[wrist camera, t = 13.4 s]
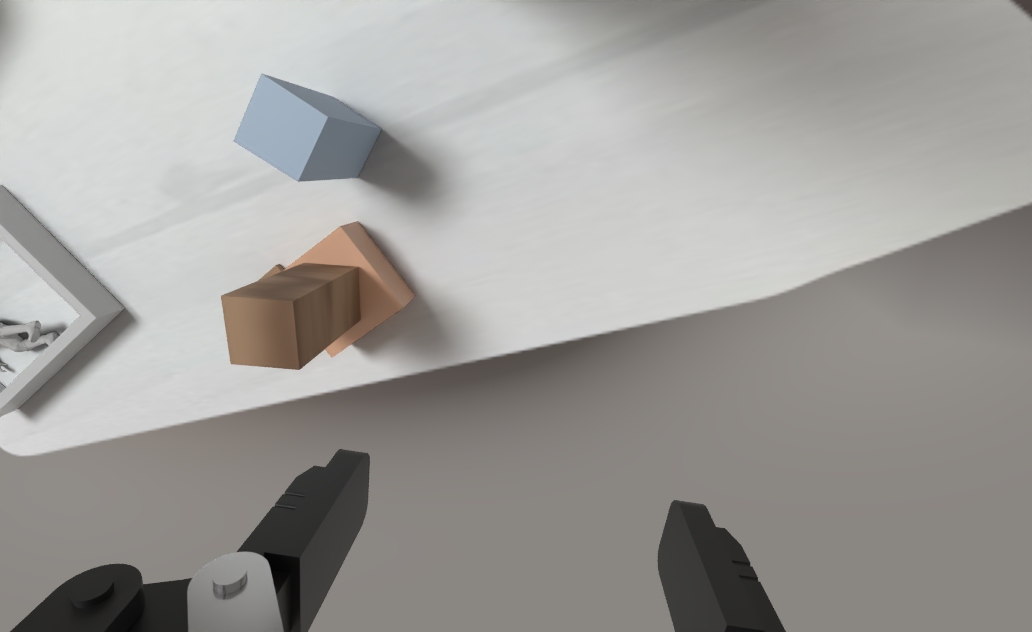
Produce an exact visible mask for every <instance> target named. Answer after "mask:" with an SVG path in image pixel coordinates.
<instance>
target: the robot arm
mask: <svg viewBox="0 0 1032 632" xmlns="http://www.w3.org/2000/svg"><path fill="white" fill-rule="evenodd" d="M369 466H370V457H369V454H368V453H362V452H355V451H349V450H343V449H340V450H338V451H337V452H336V454H335V455H334V456H333V458H332V459H331V461H330V462H329V463H328V465H327V466H326V467H320V466H313V467H312V468H310V469H309V470H307V471H306V472H304V473H303V474H301V475H299V476H298V477H296V478H295V480H294V481H293V482H292V483H291V485H290V486H289V487H288V489H287V490H286V491H285V494H283V495H282V496H281V497H280V498H279V500H278V501H277V502H276V504H275V507H272V508H271V510H270V511H269V512H268V513H267V515H266V516H265V517H264V518H263V520H262V521H261V522H260V523H259V525H258V526H257V527H256V528H255V530H254V531H253V532H252V533H251V535H250V536H249V537H248V538H247V540H246V541H245V542H244V543H243V545H242V546H241V547H240V548H239V550H238V551H237V552H235V553H231V554H227V555H224V556H221V557H219V558H217V559H215V560H213V561H211V562H209V563H208V564H206V565H205V566H204V567H202V568H201V569H200V570H199V571H198V572H197V573H196V574H195V575H194V577H193V578H190V579H184V580H176V581H169V582H160V583H152V584H143V581H142V576H141V573H140V572H139V570H138V569H136V568H135V567H133V566H131V565H126V564H109V565H104V566H100V567H97V568H93V569H90V570H87V571H85V572H83V573H81V574H79V575H76V576H75V577H73V578H71V579H69V580H68V581H66V582H65V583H63V584H62V585H61V586H59V587H58V588H57V589H56V590H55V591H53V592H52V593H51V594H50V595H49V596H48V597H47V598H46V599H45V600H44V601H43V602H42V603H41V604H39V605H38V606H37V607H36V608H35V609H34V610H33V611H32V612H31V613H30V614H29V615H28V616H27V617H25V619H23V620H22V621H21V622H20V623H19V624H18V625H17V626H16V627H15V628H14V629H13V630H12V631H10V632H308V630H309V628H310V626H311V624H312V622H313V620H314V618H315V616H316V615H317V613H318V611H319V608H320V607H321V605H322V603H323V601H324V599H325V597H326V595H327V593H328V591H329V589H330V587H331V585H332V583H333V581H334V579H335V577H336V575H337V574H338V572H339V570H340V568H341V566H342V564H343V562H344V560H345V558H346V556H347V554H348V552H349V550H350V548H351V546H352V544H353V542H354V540H355V538H356V536H357V534H358V532H359V531H360V529H361V526H362V524H363V521H364V518H365V515H366V510H367V504H368V487H369ZM658 570H659V575H660V579H661V582H662V586H663V589H664V593H665V597H666V600H667V604H668V607H669V611H670V615H671V618H672V622H673V625H674V629H675V632H786V631H785V629H784V627H783V626H782V624H781V622H780V620H779V618H778V616H777V614H776V612H775V610H774V608H773V606H772V604H771V602H770V600H769V598H768V596H767V595H766V593H765V591H764V589H763V587H762V585H761V583H760V582H758V577H757V575H756V573H755V571H754V569H753V567H751V566H750V561H749V560H748V558H747V556H746V554H745V552H744V550H743V548H742V546H741V545H740V544H739V543H738V541H737V540H736V539H735V538H734V537H733V536H732V535H731V534H730V533H729V532H728V531H727V530H726V529H725V528H718V527H716V526H715V524H714V522H713V520H712V518H711V516H710V514H709V512H708V509H707V508H706V506H705V505H703V504H697V503H691V502H684V501H677V500H674V501H673V502H672V503H671V506H670V509H669V513H668V516H667V520H666V523H665V527H664V531H663V534H662V538H661V541H660V545H659V551H658Z"/></svg>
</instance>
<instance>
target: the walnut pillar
mask: <svg viewBox="0 0 1032 632" xmlns="http://www.w3.org/2000/svg"><path fill="white" fill-rule="evenodd" d="M221 299H222V306H223V313H224V320H225V327H226V334H227V341H228V348H229V355H230V362H231V364H237V365H249V366H260V367H272V368H284V369H296V370H300V369H301V368H302V367H303V366H305V365H306V364H307V363H308V362H310V361H311V360H312V359H313V358H315V357H316V356H317V355H318V354H319V353H321V352H322V351H323V350H324V349H326V348H327V347H328V346H329V345H331V344H332V343H333V342H334V341H335V340H337V339H338V338H339V337H340V336H342V335H343V334H344V333H345V332H347V331H348V330H349V329H350V328H351V327H353V326H354V325H355V324H356V323H358V322H359V321H360V320H361V313H360V293H359V274H358V267H356V266H342V265H328V264H314V263H302V264H299V265H297V266H294V267H292V268H289V269H287V270H284V271H282V272H279V273H277V274H274V275H272V276H269V277H267V278H264V279H262V280H259V281H257V282H254V283H252V284H249V285H247V286H244V287H242V288H239V289H237V290H235V291H232V292H230V293H227V294H225V295H222V296H221Z"/></svg>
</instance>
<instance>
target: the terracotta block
mask: <svg viewBox="0 0 1032 632" xmlns="http://www.w3.org/2000/svg"><path fill="white" fill-rule="evenodd" d="M302 263H314V264H328V265H342V266H356V267H358V274H359V293H360V313H361V320H360V321H359V322H358V323H356V324H355V325H354V326H353V327H351V328H350V329H349V330H348V331H347V332H345V333H344V334H343V335H342V336H340V337H339V338H338V339H337V340H335V341H334V342H333V343H332V344H331V345H329V346H328V347H327V348H326V349H325V350H326V351H327V352H328V354H329V355H330V356H331V357H334V356H335V355H336V354H338V353H339V352H341V351H342V350H344V349H345V348H346V347H348V346H349V345H351V344H352V343H354V342H355V341H356V340H358V339H359V338H361V337H362V336H364V335H365V334H367V333H368V332H369V331H371V330H372V329H374V328H375V327H377V326H378V325H379V324H381V323H382V322H384V321H385V320H387V319H388V318H389V317H391V316H392V315H394V314H395V313H397V312H398V311H399V310H401V309H402V308H404V307H405V306H406V305H407V304H408V303H409V302H410V301H411V300H412V299H413V298H414V297H415V295H414V294H413V292H412V291H411V290H410V289H409V287H408V286H407V285H406V283H405V282H404V281H403V279H402V278H401V277H400V276H399V274H398V273H397V272H396V270H395V269H394V268H393V266H392V265H391V264H390V263H389V261H388V260H387V259H386V257H385V256H384V255H383V253H382V252H381V251H380V250H379V248H378V247H377V246H376V244H375V243H374V242H373V240H372V239H371V238H370V237H369V235H368V234H367V233H366V231H365V230H364V229H363V227H362V226H361V225H360V224H359V222H358V221H357V222H353V223H350V224H346V225H343V226H340V227H339V228H337V229H336V230H335V231H333V232H332V233H331V234H330V235H328V236H327V237H326V238H324V239H323V240H322V241H321V242H319V243H318V244H317V245H315V246H314V247H313V248H312V249H310V250H309V251H308V252H306V253H305V254H304V255H303V256H301V257H300V258H299V259H297V260H296V261H295V262H293V263H292V264H291V265H290V266H288V267H287V268H286V269H284V270H287V269H289V268H292V267H294V266H297V265H299V264H302ZM284 270H283V271H284Z"/></svg>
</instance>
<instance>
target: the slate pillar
mask: <svg viewBox="0 0 1032 632" xmlns="http://www.w3.org/2000/svg"><path fill="white" fill-rule="evenodd" d="M381 130H382V129H381V128H380V127H378V126H377V125H375V124H373V123H372V122H370V121H369V120H367V119H366V118H364V117H363V116H361V115H360V114H358V113H357V112H355V111H354V110H352V109H351V108H349V107H348V106H346V105H345V104H343V103H341V102H340V101H338V100H337V99H335V98H334V97H332V96H329V95H326V94H323V93H320V92H317V91H314V90H311V89H307V88H304V87H301V86H298V85H295V84H292V83H289V82H286V81H283V80H280V79H277V78H274V77H271V76H268V75H264V74H261V76H260V78H259V80H258V83H257V85H256V88H255V90H254V93H253V95H252V97H251V100H250V102H249V105H248V107H247V110H246V112H245V114H244V117H243V119H242V122H241V124H240V127H239V129H238V131H237V134H236V136H235V139H234V142H236V143H237V144H239V145H240V146H242V147H244V148H245V149H247V150H248V151H250V152H252V153H253V154H255V155H256V156H258V157H260V158H261V159H263V160H264V161H266V162H268V163H269V164H271V165H272V166H274V167H275V168H277V169H279V170H280V171H282V172H283V173H285V174H287V175H288V176H290V177H291V178H293V179H295V180H296V181H298V182H299V181H315V180H331V179H347V178H357V177H358V175H359V173H360V171H361V169H362V167H363V165H364V163H365V161H366V159H367V157H368V156H369V154H370V152H371V150H372V148H373V146H374V144H375V142H376V140H377V138H378V136H379V134H380V132H381Z"/></svg>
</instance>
